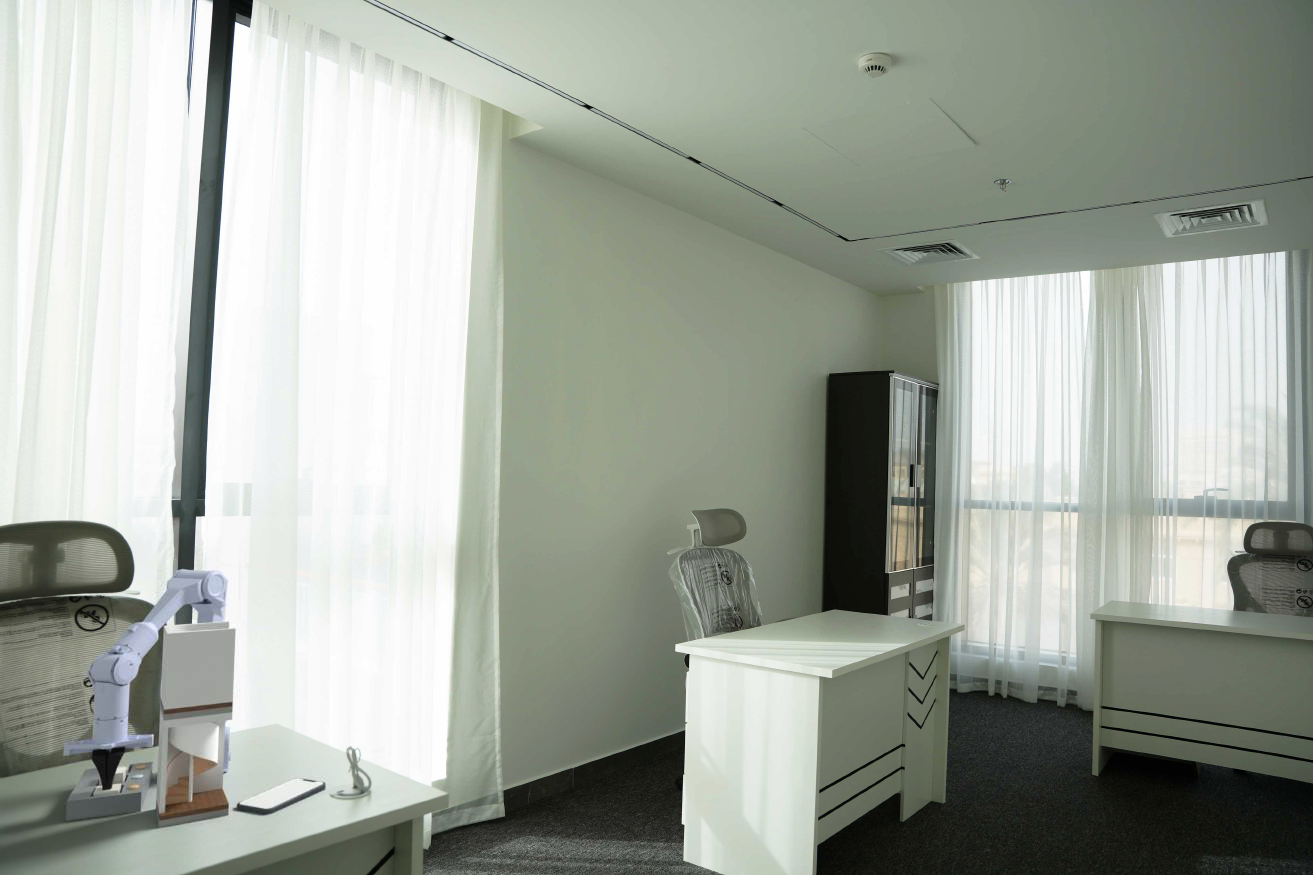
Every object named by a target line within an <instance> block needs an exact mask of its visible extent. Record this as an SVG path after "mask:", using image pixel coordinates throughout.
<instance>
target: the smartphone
mask: <svg viewBox="0 0 1313 875" xmlns="http://www.w3.org/2000/svg"><path fill="white" fill-rule="evenodd" d="M326 786H327V785H326V782H325V781H319V780H313V779H309V778H307V779H306V778H300V777H296V778H292V779H290V780H288V781H285V782H282V783H280V784H278V785H275V786H274V787H272V788H269V789H266V790H264V791H262V792H260V793H257V794H255V795H253V796H251V797H248V798H246V799H244V800H241V801H239V802H237V804H236V810H237V811H243V812H248V813H252V814H254V813H255V814H259V815H263V816H264V815H265V816H267V815H272V814H274V813H276V812H279V811H282V810H283V809H286V808H288V807H290V806H292V805H294V804H297V803H299V802H301V801H303V800H305V799H307V798H310V797H312V796H314V795H316V794H318V793H321V792H323V791H325V790H326V788H327V787H326Z"/></svg>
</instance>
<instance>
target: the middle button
mask: <svg viewBox="0 0 1313 875" xmlns="http://www.w3.org/2000/svg"><path fill="white" fill-rule="evenodd" d="M125 779H126V767H119V768H117V770H116V773H115V776H114V780H113V784H116V783H124V782H125ZM99 785H102V782H101V779H100V776H99Z"/></svg>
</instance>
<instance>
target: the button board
mask: <svg viewBox="0 0 1313 875" xmlns="http://www.w3.org/2000/svg"><path fill="white" fill-rule="evenodd" d="M129 764H130V772H129V773H126V779H125V782H124V783H116V784H121V793H117V794H109V795H101V796H93V795H94V791H95V789H96V787H97V786H102V785H99V776H100V775H99V773H98V770H97V768H96V767H94V768H85V770H84V771H83V773H82V774H81V777H80V778H79V779H78V782H77V783H76V785H75V787H74V788H73V789H72V792H71V793H70V795H69V796H68V798H67V800H66V804H65V805H66V807H65V808H66V809H65V822H68V821H77V820H78V821H79V820H85V819H92V818H101V817H108V816H115V815H123V814H129V813H138V812H141V811H142V809H143V806H144V803H145V800H146V797H147V794H148V791H149V790H150V785H151V784H152V780H153V761H147V762H139V763H138V762H136V763H129Z"/></svg>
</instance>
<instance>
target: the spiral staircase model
mask: <svg viewBox="0 0 1313 875" xmlns="http://www.w3.org/2000/svg"><path fill="white" fill-rule="evenodd" d="M236 632H237V631H236V627H230V621H225V620H224V622H211V623H197V622H196V623H185V624H170V625H163V636H162V638H163V640H162V641H163V642H162V659H161V660H162V661H161V663H162V664H161V680H160V681H161V684H160V685H161V686H160V705H159V706H160V709H159V710H160V711H159V729H158V730H159V731H158V732H159V733H158V750H157V751H158V753H157V754H158V755H157V774H156V777H157V778H156V798H155V812H156V817H157V818H156V819H157V824H158V828H163V827H170V826H174V825H175V826H176V825H179V824H185V823H191V822H196V821H202V820H208V819H213V818H219V817H225V816H228V815H230V814H229V810H230V803H229V801H228V799H227V796H226V793H225V791H224V772H223V768H224V742H225V727H226V723H225V721H226V720H227V721H232V720H233V709H234V708H233V706H234V704H233V703H234V680H235V679H234V678H235V676H234V675H235V658H236V657H235V656H236V654H235V653H236ZM227 721H226V722H227Z"/></svg>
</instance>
